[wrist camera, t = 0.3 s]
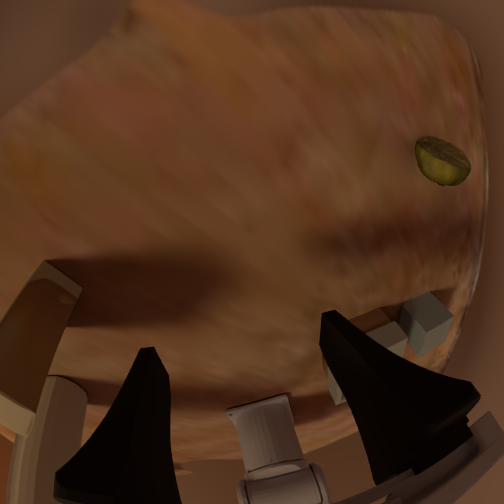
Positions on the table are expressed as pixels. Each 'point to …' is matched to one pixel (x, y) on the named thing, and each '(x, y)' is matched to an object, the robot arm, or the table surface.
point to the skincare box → (32, 343)
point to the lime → (441, 161)
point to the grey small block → (425, 323)
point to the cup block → (386, 336)
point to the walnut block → (366, 325)
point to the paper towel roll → (47, 443)
